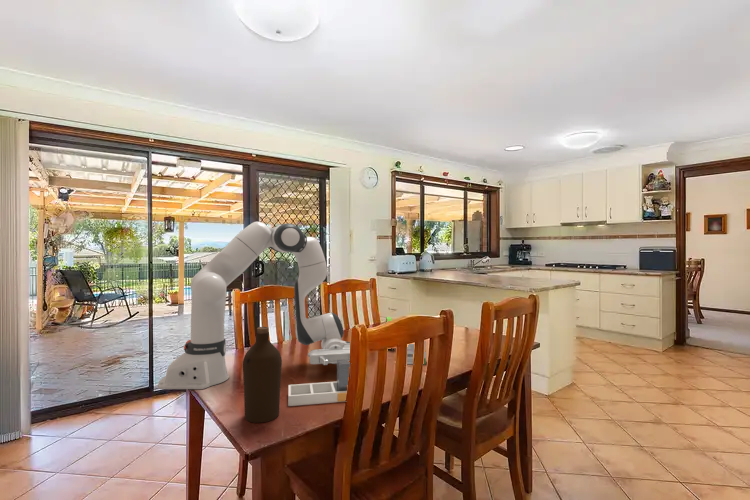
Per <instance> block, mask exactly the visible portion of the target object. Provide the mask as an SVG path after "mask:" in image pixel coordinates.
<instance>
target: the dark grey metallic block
mask: <svg viewBox="0 0 750 500" xmlns="http://www.w3.org/2000/svg"><path fill="white" fill-rule="evenodd" d="M349 367H350V368H351V364H350V362H349V361H348V359H343V360H337V364H336V382H337V391H347V385H348V377H349ZM337 391H336V392H337Z"/></svg>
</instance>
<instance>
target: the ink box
mask: <svg viewBox="0 0 750 500" xmlns="http://www.w3.org/2000/svg"><path fill="white" fill-rule="evenodd" d="M426 344H427V340H426V341H425V352H424V364H423V365H426V361H427V360H426V358H427V357H426V355H427V353H426V352H427V347H426V346H427V345H426ZM413 354H414V344H409V345H408V347H407V364H406V365H414V364H413Z"/></svg>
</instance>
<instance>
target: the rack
mask: <svg viewBox="0 0 750 500" xmlns="http://www.w3.org/2000/svg"><path fill="white" fill-rule="evenodd" d="M287 387H288V402H287V406H288V407H295V406H308V405H318V404H319V405H321V404H330V403H344V402H346V401H345V399H346V394H347V391H337V381H327V382H326V381H324V382H323V381H322V382H309V383H299V384H296V383H295V384H288V386H287Z"/></svg>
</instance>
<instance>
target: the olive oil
mask: <svg viewBox="0 0 750 500" xmlns="http://www.w3.org/2000/svg"><path fill="white" fill-rule="evenodd" d="M269 330H270V329H269V327H268V326H258V327H257V328H256V341H255V342H254V344H253V345H252V346H251V347H250V348H249V349H248V350H247V352H245V354H244V357H243V361H242V374H243V375H242V376H243V396H244V397H243V398H244V399H243V400H244V419H245V420H246V421H247V422H250V423H255V424H257V423H258V424H259V423H260V424H261V423H268V422H270V421H273V420H275V419H277V418H278V416H279V414H280V402H281V401H280V400H281V399H280V398H281V379H282V363H283V360H282V356H281V353H280V351H279V350H278V348H276V347H275V345H274V344H273V343H272V342H271V341H270V340H269V338H270V337H269V336H270V332H269Z"/></svg>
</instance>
